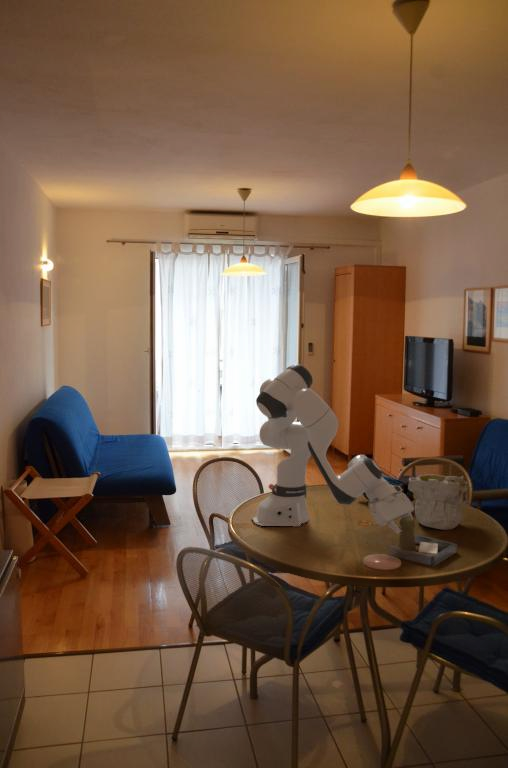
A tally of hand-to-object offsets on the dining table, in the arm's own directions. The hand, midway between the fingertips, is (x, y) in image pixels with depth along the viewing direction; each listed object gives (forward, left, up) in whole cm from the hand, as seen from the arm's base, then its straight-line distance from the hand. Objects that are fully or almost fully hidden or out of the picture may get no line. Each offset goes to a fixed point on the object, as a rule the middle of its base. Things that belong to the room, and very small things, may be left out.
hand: (406, 529), depth 223 cm
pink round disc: (-13, -9, -7) cm, 18 cm away
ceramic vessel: (+26, +24, -7) cm, 36 cm away
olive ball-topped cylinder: (0, 0, -7) cm, 7 cm away
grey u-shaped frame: (+4, -5, -7) cm, 9 cm away
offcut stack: (+5, -6, -8) cm, 11 cm away
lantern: (+16, +55, -8) cm, 57 cm away
